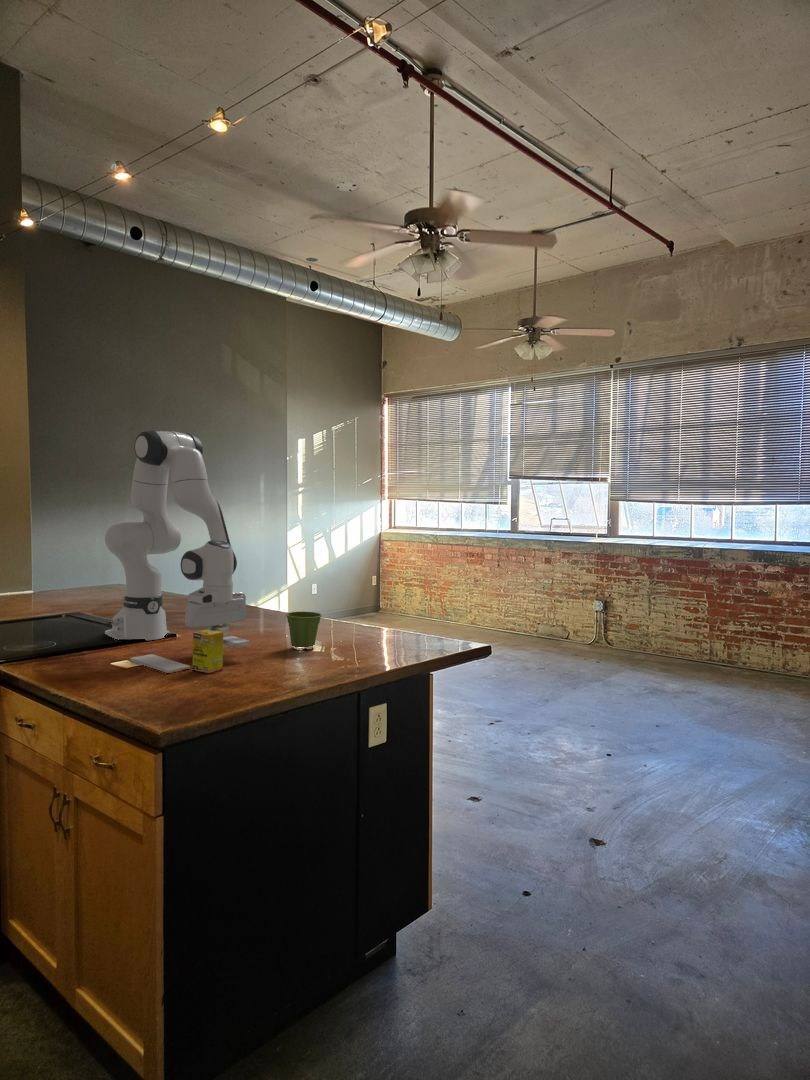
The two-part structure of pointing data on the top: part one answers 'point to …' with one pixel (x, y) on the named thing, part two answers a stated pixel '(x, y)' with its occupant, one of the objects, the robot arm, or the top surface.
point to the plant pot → (303, 628)
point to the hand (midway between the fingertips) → (216, 638)
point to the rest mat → (159, 663)
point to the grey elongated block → (229, 637)
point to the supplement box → (207, 650)
